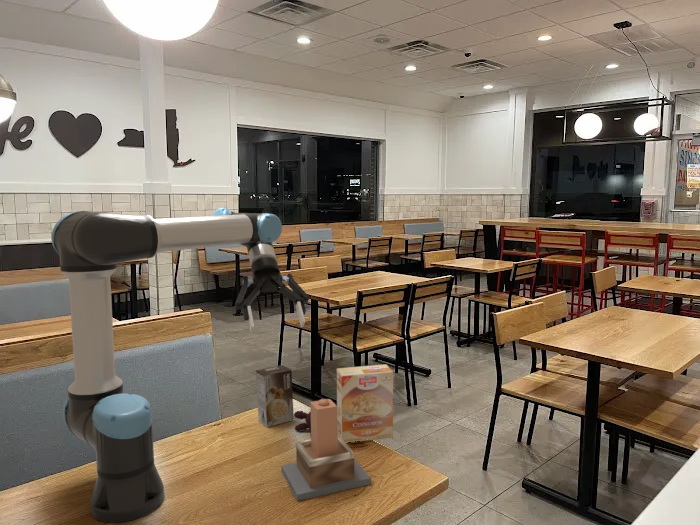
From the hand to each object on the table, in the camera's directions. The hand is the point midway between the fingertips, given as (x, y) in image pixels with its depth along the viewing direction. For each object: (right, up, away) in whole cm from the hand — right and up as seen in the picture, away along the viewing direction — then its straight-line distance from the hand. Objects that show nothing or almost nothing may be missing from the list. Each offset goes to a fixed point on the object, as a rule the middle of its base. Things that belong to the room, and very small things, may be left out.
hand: (278, 327), depth 138 cm
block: (+13, -29, -12) cm, 33 cm away
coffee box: (-4, -32, +22) cm, 39 cm away
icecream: (+10, -32, +15) cm, 37 cm away
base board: (+13, -35, -11) cm, 39 cm away
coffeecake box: (+23, -33, +12) cm, 41 cm away
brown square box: (+13, -34, -11) cm, 38 cm away
